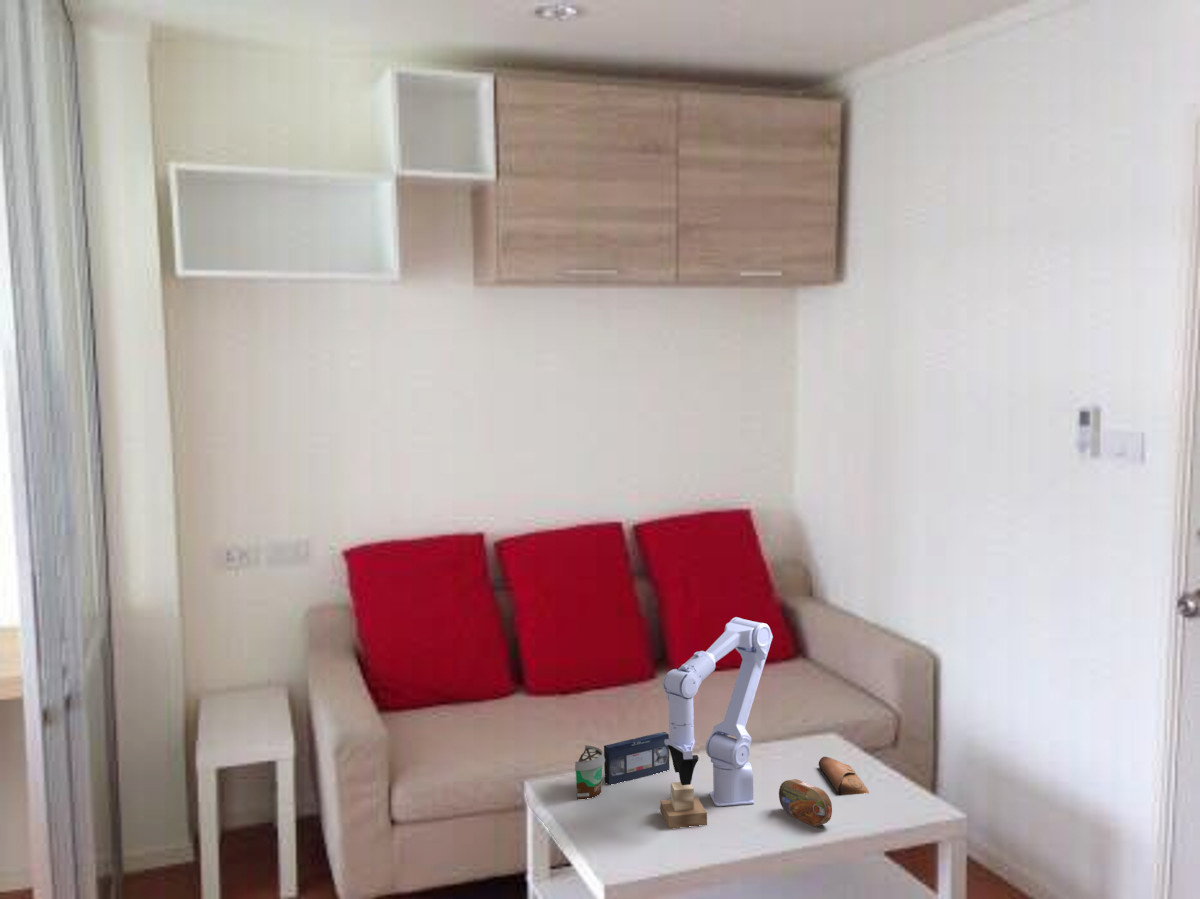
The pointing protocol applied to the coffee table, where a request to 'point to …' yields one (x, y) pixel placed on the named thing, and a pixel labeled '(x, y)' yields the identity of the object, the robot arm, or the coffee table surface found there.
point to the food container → (589, 772)
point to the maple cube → (682, 796)
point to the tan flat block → (683, 815)
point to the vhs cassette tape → (636, 758)
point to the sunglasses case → (842, 777)
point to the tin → (805, 802)
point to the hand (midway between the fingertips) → (682, 778)
